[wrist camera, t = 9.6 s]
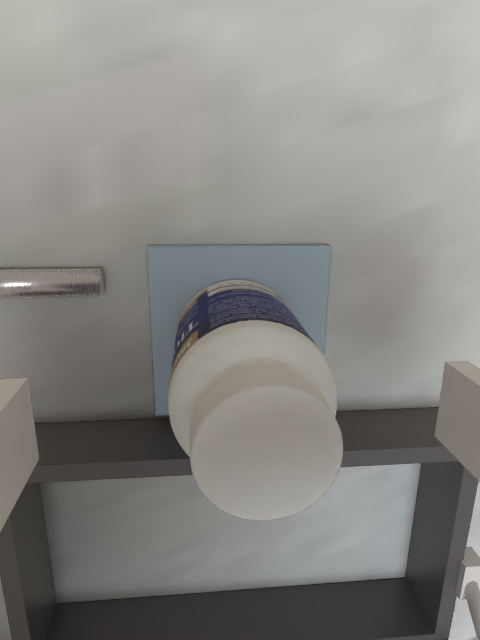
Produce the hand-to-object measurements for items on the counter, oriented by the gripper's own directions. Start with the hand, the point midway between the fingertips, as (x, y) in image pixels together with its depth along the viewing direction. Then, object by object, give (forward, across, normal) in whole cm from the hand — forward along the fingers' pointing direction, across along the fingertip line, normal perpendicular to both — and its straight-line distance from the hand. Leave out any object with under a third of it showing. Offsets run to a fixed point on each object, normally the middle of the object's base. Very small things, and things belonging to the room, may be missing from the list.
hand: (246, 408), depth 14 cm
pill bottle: (+7, 0, 0) cm, 7 cm away
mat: (+7, +1, 0) cm, 7 cm away
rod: (+8, -9, +3) cm, 12 cm away
